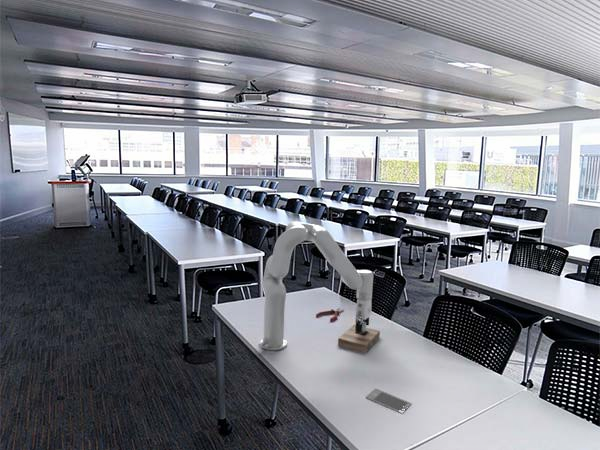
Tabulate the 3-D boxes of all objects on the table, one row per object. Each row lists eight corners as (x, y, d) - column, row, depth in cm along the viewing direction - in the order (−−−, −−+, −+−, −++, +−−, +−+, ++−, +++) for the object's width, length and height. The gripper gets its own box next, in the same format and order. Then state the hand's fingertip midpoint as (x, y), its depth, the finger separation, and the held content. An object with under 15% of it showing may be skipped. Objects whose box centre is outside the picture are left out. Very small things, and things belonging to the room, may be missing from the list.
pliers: (350, 313, 239) (350, 309, 239) (332, 323, 223) (332, 318, 223) (333, 308, 246) (334, 304, 246) (314, 318, 230) (315, 313, 230)
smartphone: (411, 404, 150) (412, 403, 150) (402, 415, 144) (402, 413, 143) (375, 389, 159) (375, 387, 159) (365, 398, 153) (365, 397, 153)
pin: (363, 341, 201) (364, 324, 200) (356, 339, 203) (357, 322, 201) (366, 338, 204) (367, 321, 203) (359, 336, 206) (360, 320, 205)
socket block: (365, 352, 189) (365, 345, 188) (338, 345, 196) (338, 338, 195) (379, 337, 206) (379, 330, 206) (353, 330, 213) (354, 324, 212)
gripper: (365, 301, 191) (363, 335, 193) (377, 292, 206) (375, 324, 208) (350, 298, 194) (348, 332, 197) (363, 289, 209) (361, 320, 212)
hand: (362, 328), depth 203 cm, fingers open, 9 cm apart
